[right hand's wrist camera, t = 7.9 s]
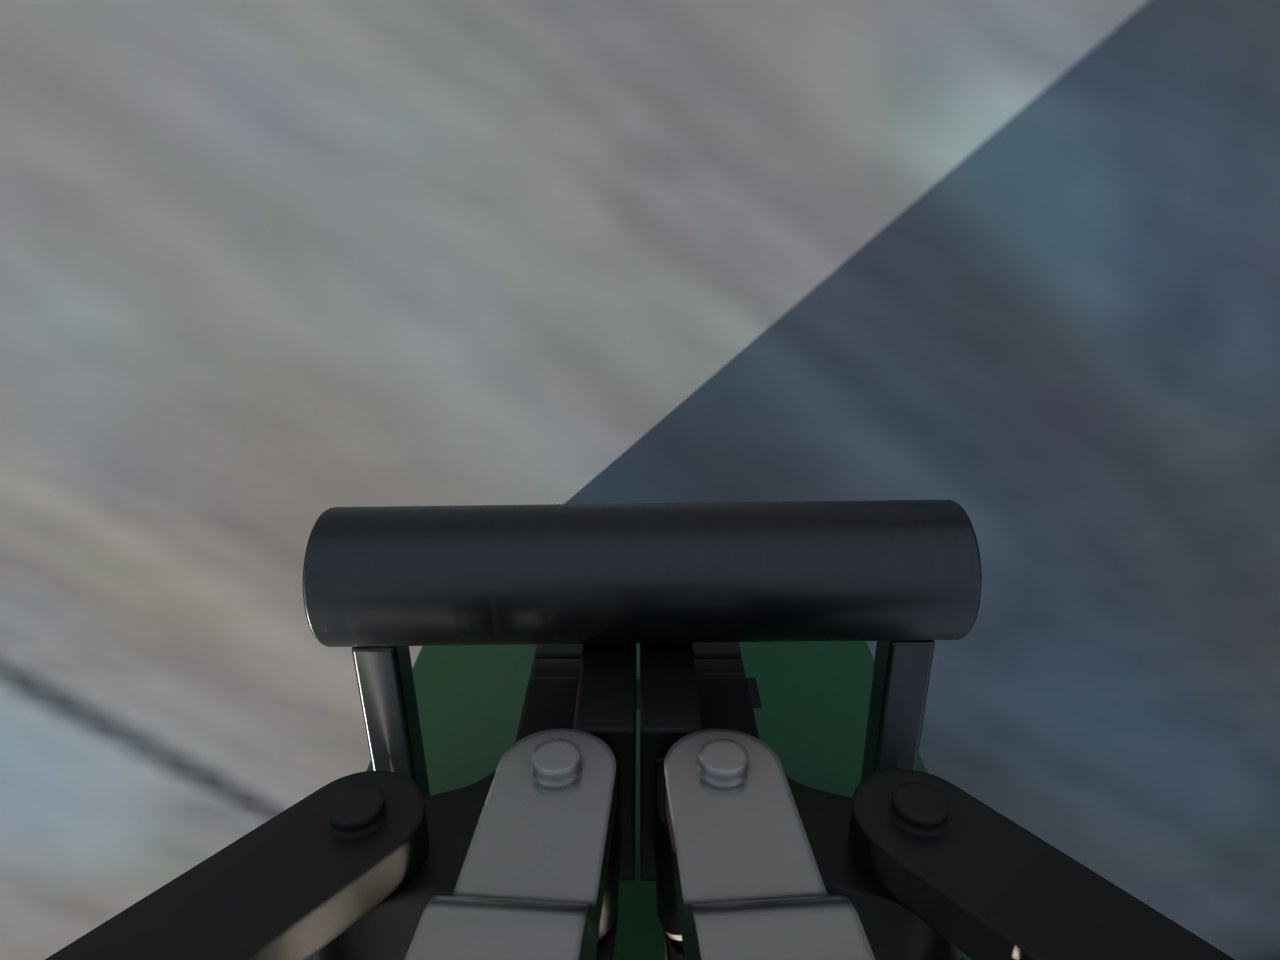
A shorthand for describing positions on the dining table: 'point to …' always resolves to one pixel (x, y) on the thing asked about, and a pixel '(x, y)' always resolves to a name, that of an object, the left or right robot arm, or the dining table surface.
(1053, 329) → the dining table surface
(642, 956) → the drawer
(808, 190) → the dining table surface
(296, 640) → the dining table surface
